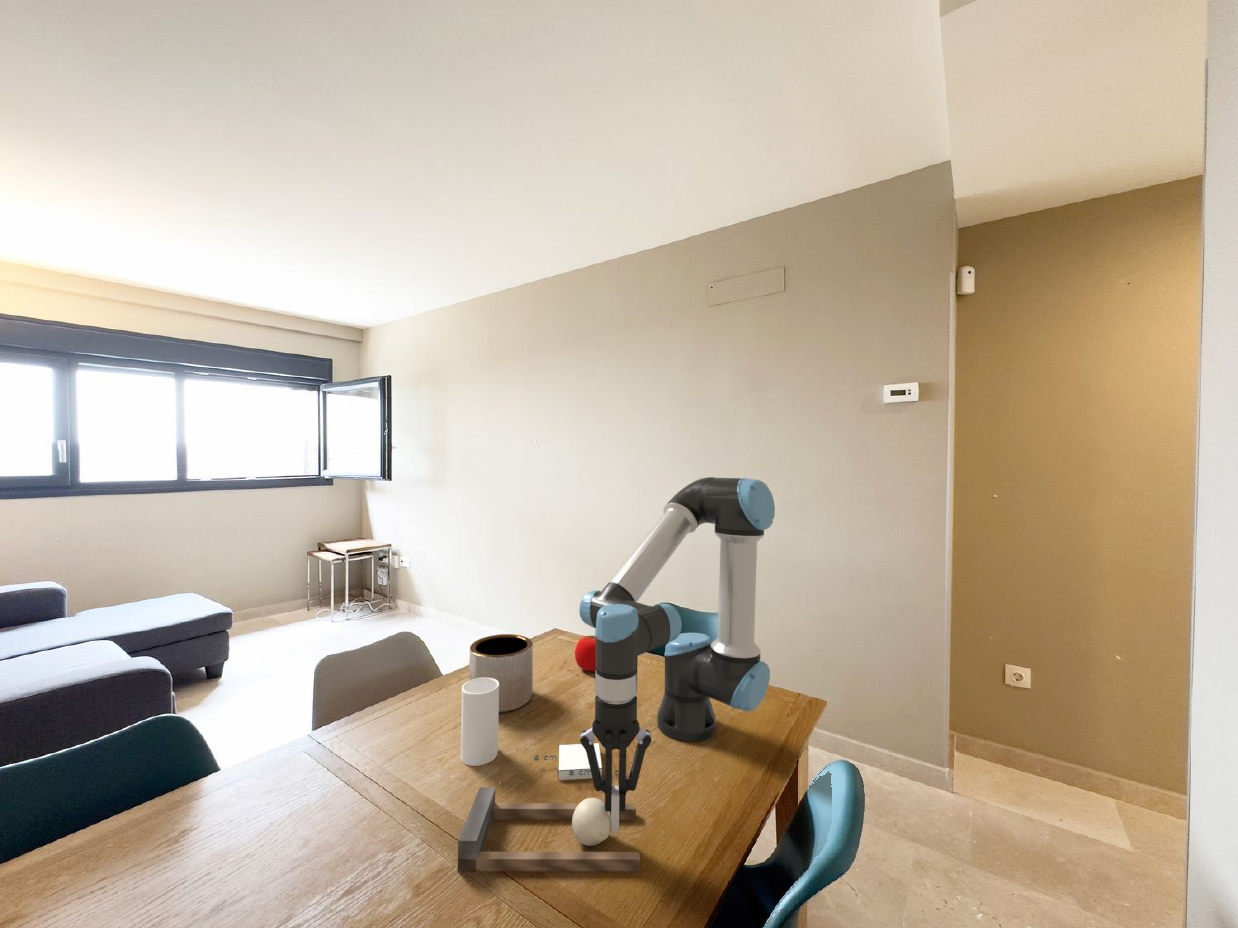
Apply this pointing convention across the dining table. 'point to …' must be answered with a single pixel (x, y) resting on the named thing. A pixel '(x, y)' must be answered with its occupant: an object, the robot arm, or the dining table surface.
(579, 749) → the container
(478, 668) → the planter
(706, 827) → the dining table surface
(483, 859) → the channel
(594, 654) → the tomato
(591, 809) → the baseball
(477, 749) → the cup
